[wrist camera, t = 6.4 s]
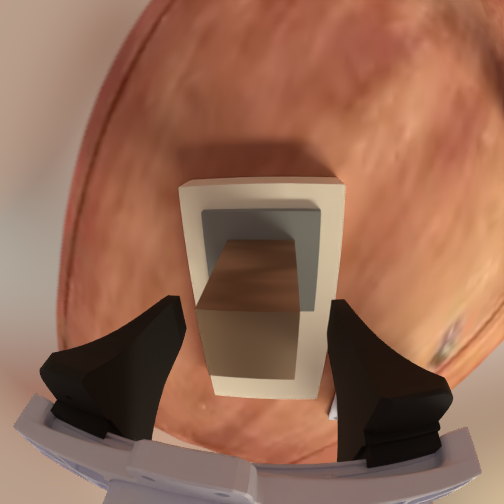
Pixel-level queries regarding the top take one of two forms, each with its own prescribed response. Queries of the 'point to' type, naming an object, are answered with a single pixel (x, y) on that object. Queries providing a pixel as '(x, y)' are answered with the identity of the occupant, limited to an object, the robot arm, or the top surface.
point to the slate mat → (269, 238)
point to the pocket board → (332, 216)
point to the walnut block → (251, 311)
